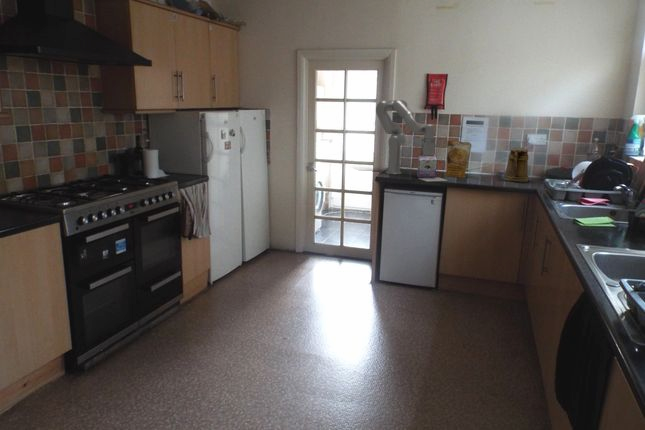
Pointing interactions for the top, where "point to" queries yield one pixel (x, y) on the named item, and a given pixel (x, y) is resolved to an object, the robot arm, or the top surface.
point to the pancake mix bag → (457, 158)
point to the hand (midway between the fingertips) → (426, 164)
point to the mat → (432, 179)
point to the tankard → (517, 166)
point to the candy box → (427, 166)
